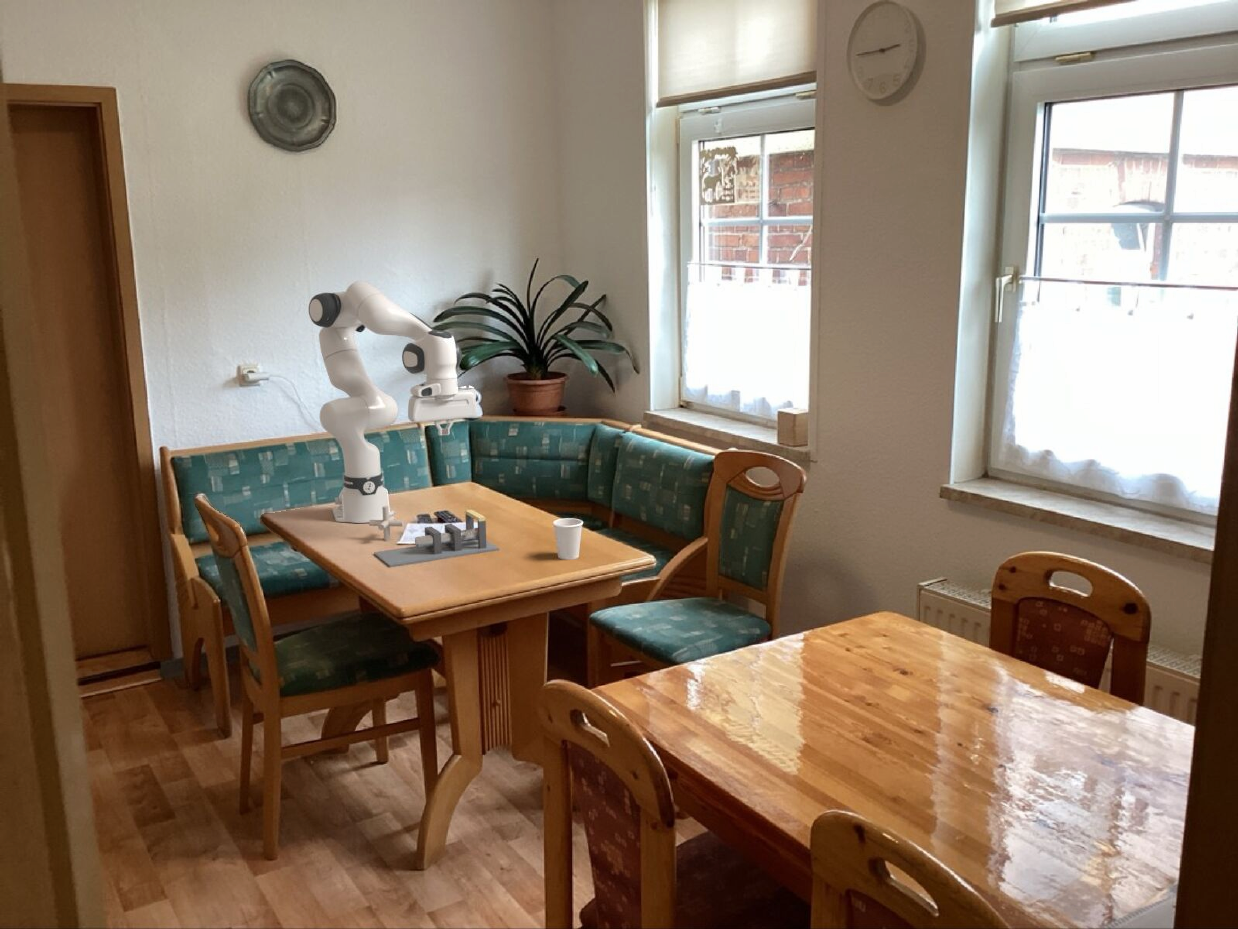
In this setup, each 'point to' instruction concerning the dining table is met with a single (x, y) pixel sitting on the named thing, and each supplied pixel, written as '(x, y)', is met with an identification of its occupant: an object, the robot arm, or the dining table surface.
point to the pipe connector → (386, 522)
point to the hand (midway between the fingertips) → (444, 434)
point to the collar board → (442, 551)
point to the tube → (446, 538)
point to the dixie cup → (568, 537)
